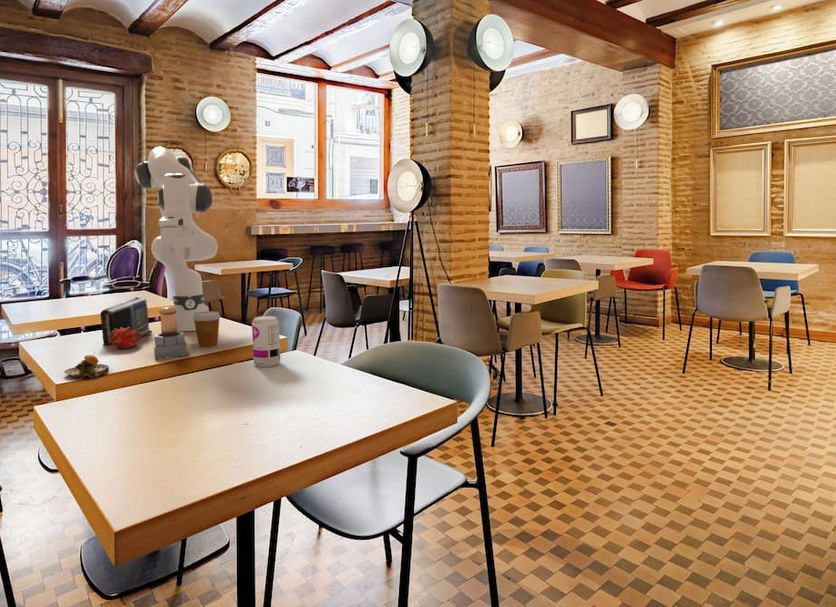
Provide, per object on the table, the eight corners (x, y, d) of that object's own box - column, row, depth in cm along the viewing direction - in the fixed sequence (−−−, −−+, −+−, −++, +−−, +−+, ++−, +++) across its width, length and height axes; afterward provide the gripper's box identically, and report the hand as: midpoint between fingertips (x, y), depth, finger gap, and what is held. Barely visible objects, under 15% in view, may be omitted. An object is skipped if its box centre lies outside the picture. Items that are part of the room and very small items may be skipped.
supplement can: (256, 368, 183) (253, 321, 180) (252, 362, 190) (249, 316, 188) (282, 366, 186) (280, 319, 183) (277, 360, 193) (275, 314, 191)
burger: (79, 369, 184) (77, 346, 183) (117, 369, 184) (115, 346, 183) (55, 380, 172) (52, 355, 171) (95, 380, 172) (93, 355, 171)
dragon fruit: (105, 355, 207) (139, 354, 216) (115, 344, 203) (149, 343, 212) (100, 334, 210) (134, 333, 219) (110, 322, 205) (144, 322, 215)
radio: (110, 347, 213) (106, 306, 211) (91, 345, 216) (87, 305, 214) (156, 334, 235) (154, 297, 233) (139, 333, 238) (136, 296, 236)
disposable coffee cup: (226, 343, 218) (224, 311, 216) (215, 349, 209) (213, 315, 207) (201, 342, 219) (199, 310, 217) (189, 348, 210) (187, 315, 208)
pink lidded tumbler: (161, 342, 202) (159, 307, 200) (178, 340, 204) (176, 306, 203) (161, 345, 197) (159, 309, 195) (178, 343, 200) (177, 308, 198)
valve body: (187, 356, 199) (186, 335, 198) (155, 359, 195) (153, 338, 194) (184, 346, 213) (182, 327, 212) (153, 349, 209) (152, 330, 208)
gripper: (183, 220, 215) (185, 258, 218) (155, 221, 195) (159, 263, 197) (200, 220, 215) (202, 258, 217) (174, 221, 195) (177, 263, 197)
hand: (181, 260), depth 207 cm, fingers open, 8 cm apart
